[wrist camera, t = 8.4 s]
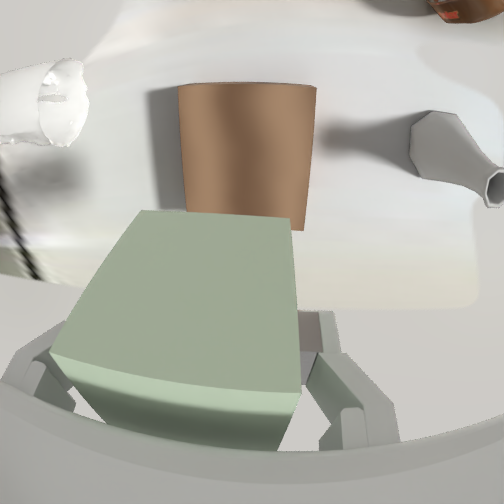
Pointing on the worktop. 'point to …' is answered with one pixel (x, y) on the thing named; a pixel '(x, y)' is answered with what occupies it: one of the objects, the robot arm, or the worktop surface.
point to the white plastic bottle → (43, 103)
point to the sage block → (191, 331)
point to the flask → (454, 157)
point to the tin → (467, 10)
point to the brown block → (247, 148)
